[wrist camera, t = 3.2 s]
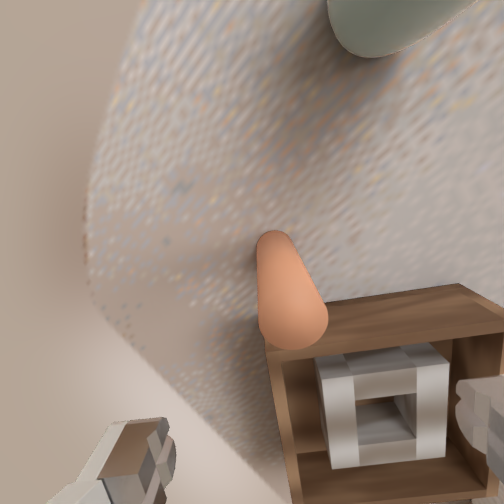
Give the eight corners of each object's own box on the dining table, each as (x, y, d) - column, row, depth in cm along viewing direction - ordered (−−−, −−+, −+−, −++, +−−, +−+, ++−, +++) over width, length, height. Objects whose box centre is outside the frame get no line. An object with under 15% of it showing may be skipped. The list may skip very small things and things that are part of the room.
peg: (253, 233, 24) (253, 294, 12) (290, 227, 23) (325, 283, 12) (259, 268, 24) (263, 354, 13) (295, 262, 24) (331, 345, 13)
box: (262, 311, 26) (265, 352, 20) (458, 283, 25) (520, 317, 19) (287, 452, 31) (294, 517, 25) (450, 433, 30) (497, 496, 24)
